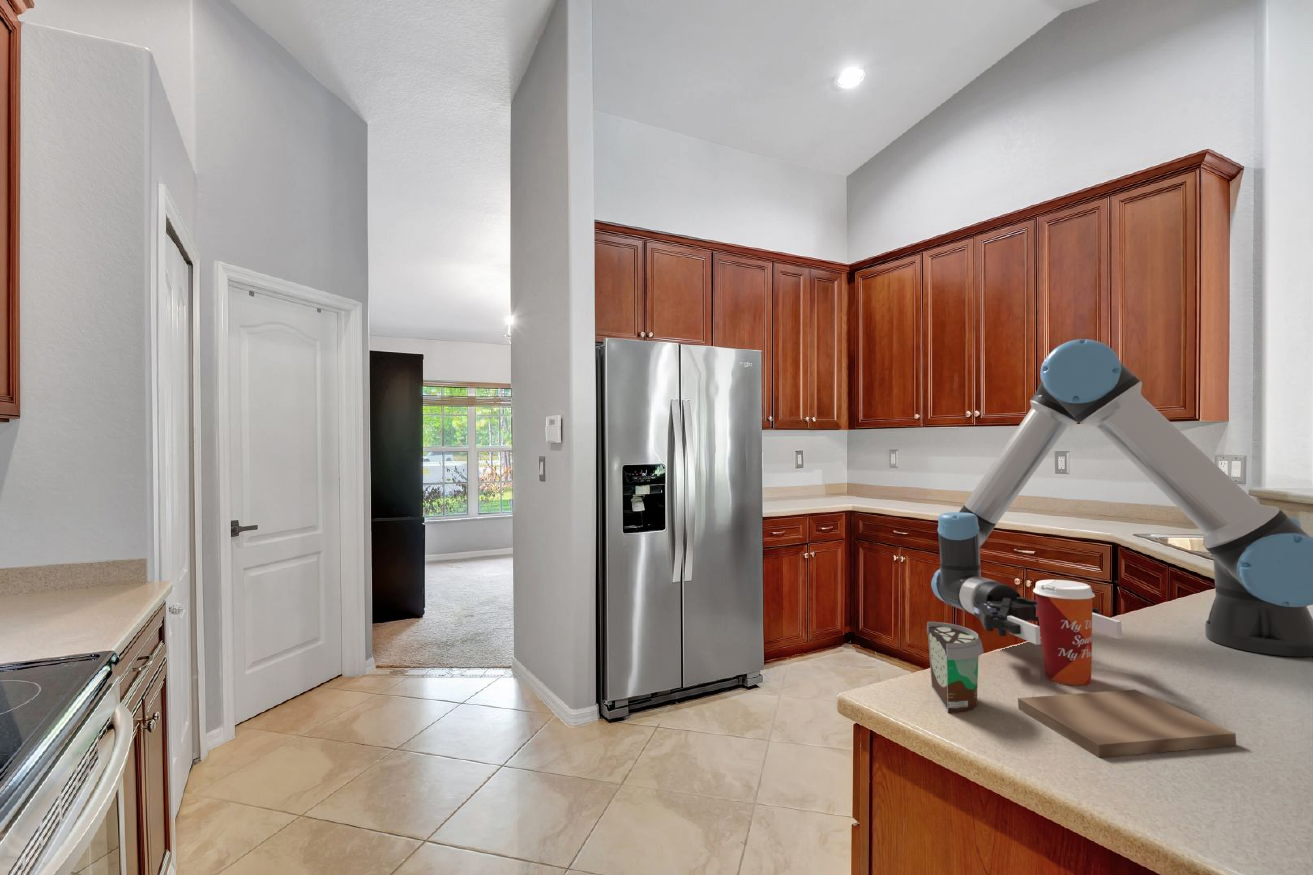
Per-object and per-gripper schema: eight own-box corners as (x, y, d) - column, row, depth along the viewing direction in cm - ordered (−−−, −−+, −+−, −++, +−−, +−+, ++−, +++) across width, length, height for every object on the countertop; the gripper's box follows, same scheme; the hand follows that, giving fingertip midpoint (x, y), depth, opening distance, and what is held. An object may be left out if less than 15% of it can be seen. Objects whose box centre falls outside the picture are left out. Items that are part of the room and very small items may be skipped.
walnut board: (1135, 699, 87) (1134, 689, 87) (1236, 745, 74) (1235, 733, 74) (1018, 708, 86) (1017, 697, 86) (1099, 757, 72) (1098, 744, 72)
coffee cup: (1078, 692, 91) (1072, 592, 91) (1025, 674, 98) (1021, 582, 99) (1112, 682, 94) (1107, 585, 94) (1059, 666, 102) (1054, 576, 102)
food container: (999, 719, 83) (995, 646, 83) (950, 717, 84) (947, 644, 84) (971, 685, 95) (968, 621, 95) (929, 684, 96) (926, 620, 96)
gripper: (1053, 616, 116) (1154, 652, 95) (929, 624, 114) (1004, 662, 92) (1051, 577, 116) (1151, 604, 95) (927, 584, 114) (1001, 613, 93)
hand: (1079, 633), depth 94 cm, fingers open, 13 cm apart
